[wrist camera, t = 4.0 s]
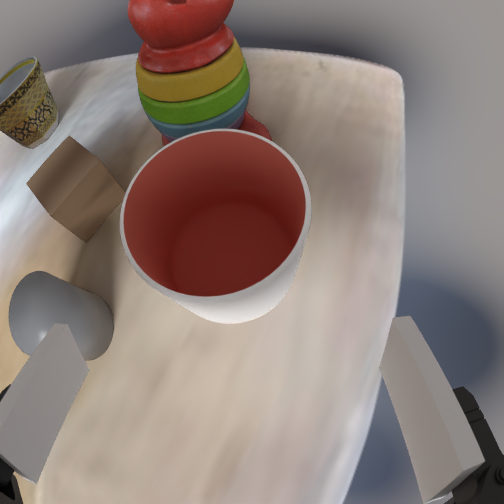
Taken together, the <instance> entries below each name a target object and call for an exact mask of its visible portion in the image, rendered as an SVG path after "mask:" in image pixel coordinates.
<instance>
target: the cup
mask: <svg viewBox="0 0 504 504" xmlns="http://www.w3.org/2000/svg"><path fill="white" fill-rule="evenodd" d="M311 211H312V210H311V197H310V192H309V188H308V184H307V182H306V179H305V177H304V175H303V173H302V171H301V169H300V168H299V166H298V165H297V163H296V162H295V161H294V160H293V158H292V157H291V156H290V155H289V154H288V153H287V152H286V151H285V150H283V149H282V148H281V147H280V146H278V145H277V144H275V143H274V142H272V141H270V140H269V139H266V138H264V137H262V136H260V135H257V134H254V133H251V132H247V131H243V130H236V129H211V130H204V131H199V132H195V133H192V134H189V135H186V136H183V137H181V138H179V139H177V140H174V141H173V142H171V143H169V144H167V145H166V146H164V147H163V148H161V149H160V150H158V151H157V152H156V153H155V154H154V155H152V156H151V157H150V158H149V159H148V160H147V161H146V162H145V163H144V164H143V165H142V167H141V168H140V169H139V170H138V172H137V173H136V175H135V176H134V178H133V179H132V181H131V183H130V185H129V187H128V189H127V191H126V194H125V196H124V199H123V203H122V207H121V213H120V235H121V240H122V245H123V248H124V251H125V253H126V256H127V258H128V260H129V262H130V263H131V265H132V267H133V268H134V270H135V271H136V272H137V273H138V275H139V276H140V277H141V278H142V279H143V280H144V281H145V282H146V283H148V284H149V285H150V286H151V287H153V288H154V289H156V290H157V291H159V292H160V293H162V294H164V295H165V296H167V297H168V298H170V299H172V300H173V301H175V302H176V303H178V304H180V305H181V306H183V307H185V308H186V309H188V310H190V311H191V312H193V313H195V314H196V315H198V316H200V317H202V318H204V319H207V320H210V321H213V322H218V323H226V324H233V323H242V322H246V321H250V320H253V319H256V318H258V317H260V316H262V315H264V314H266V313H267V312H269V311H270V310H271V309H273V308H274V307H275V306H276V305H277V304H278V303H279V302H280V301H281V300H282V299H283V298H284V296H285V295H286V294H287V292H288V290H289V289H290V287H291V285H292V283H293V280H294V277H295V274H296V271H297V268H298V265H299V261H300V258H301V255H302V251H303V248H304V245H305V241H306V238H307V234H308V231H309V227H310V221H311Z"/></svg>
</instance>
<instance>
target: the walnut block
mask: <svg viewBox="0 0 504 504" xmlns="http://www.w3.org/2000/svg"><path fill="white" fill-rule="evenodd" d="M26 184H27V185H28V187H29V188H30V189H31V191H32V192H33V193H34V195H35V196H36V198H37V199H38V200H39V202H40V203H41V204H42V205H43V207H44V208H45V209H46V211H47V212H48V213H49V214H50V216H51V217H53V218H54V219H55V220H56V221H58V222H59V223H60V224H62V225H63V226H64V227H66V228H67V229H68V230H70V231H71V232H72V233H74V234H75V235H76V236H78V237H79V238H80V239H82V240H83V241H85V242H86V243H87V241H88V240H89V239H90V238H91V236H92V235H93V234H94V233H95V232H96V230H97V229H98V228H99V227H100V226H101V224H102V223H103V222H104V221H105V220H106V219H107V217H108V216H109V215H110V214H111V213H112V212H113V210H114V209H115V208H116V207H117V206H118V205H119V204H120V203H121V201H122V200H123V199H124V196H125V194H126V193H125V192H124V190H123V189H122V188H121V187H120V185H119V184H118V183H117V181H116V180H115V179H114V178H113V176H112V175H111V174H110V172H109V171H108V170H107V169H106V167H105V166H104V165H103V163H102V162H101V161H100V160H99V159H98V158H97V157H95V156H94V155H93V154H92V153H90V152H89V151H88V150H87V149H85V148H84V147H83V146H82V145H80V144H79V143H78V142H77V141H76V140H74V139H73V138H72V137H71V136H68V137H67V138H66V139H65V140H64V141H63V142H62V143H61V145H60V146H59V147H58V148H57V149H56V150H55V151H54V152H53V153H52V154H51V155H50V156H49V158H48V159H47V160H46V161H45V162H44V163H43V164H42V165H41V167H40V168H39V169H38V170H37V171H36V172H35V174H34V175H33V176H32V177H31V178H30V180H29V181H28V182H27V183H26Z"/></svg>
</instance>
